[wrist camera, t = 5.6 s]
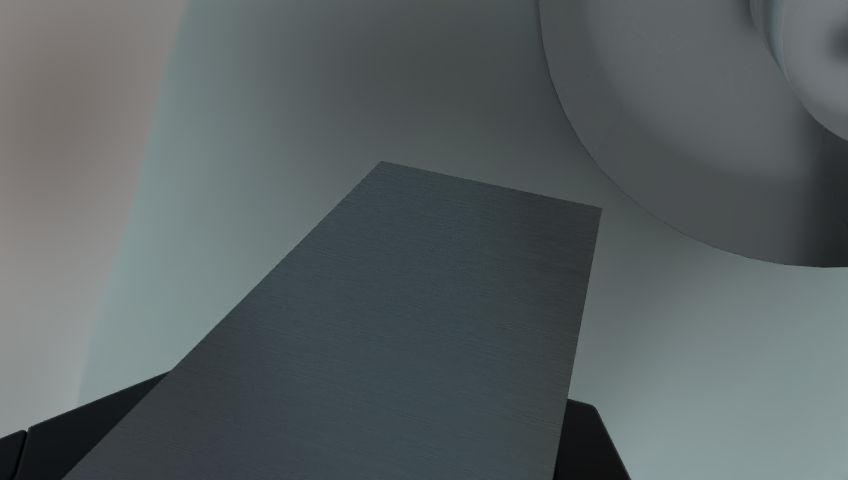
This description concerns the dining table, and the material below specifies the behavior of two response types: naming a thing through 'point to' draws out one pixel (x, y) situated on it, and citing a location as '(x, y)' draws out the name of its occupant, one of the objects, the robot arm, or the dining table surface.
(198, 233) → the dining table surface
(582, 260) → the tall grey box
